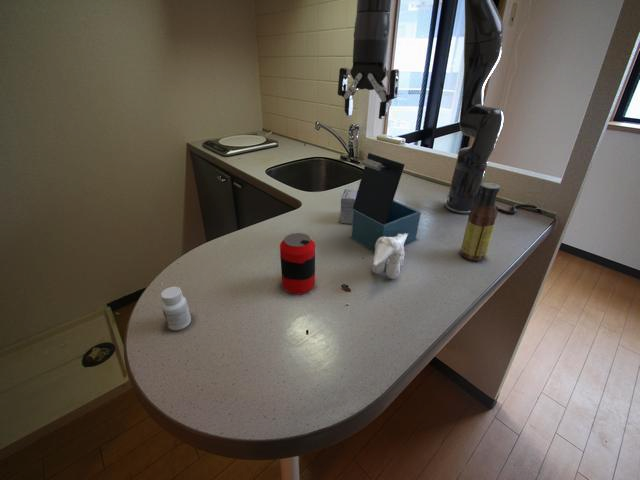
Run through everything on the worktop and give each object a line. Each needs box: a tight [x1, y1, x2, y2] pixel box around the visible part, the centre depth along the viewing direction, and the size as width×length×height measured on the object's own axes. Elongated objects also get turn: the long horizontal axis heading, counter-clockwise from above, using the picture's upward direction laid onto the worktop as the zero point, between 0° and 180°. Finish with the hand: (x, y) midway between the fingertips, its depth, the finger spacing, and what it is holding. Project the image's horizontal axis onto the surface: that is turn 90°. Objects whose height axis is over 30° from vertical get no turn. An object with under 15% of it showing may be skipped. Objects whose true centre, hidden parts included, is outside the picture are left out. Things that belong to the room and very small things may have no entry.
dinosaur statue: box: [371, 233, 408, 280], centre depth 77 cm, size 7×24×11 cm, turn 148°
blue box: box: [351, 199, 422, 253], centre depth 90 cm, size 15×12×9 cm
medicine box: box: [339, 188, 358, 225], centre depth 101 cm, size 8×4×9 cm, turn 168°
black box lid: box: [353, 152, 406, 225], centre depth 79 cm, size 15×12×5 cm
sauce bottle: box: [460, 182, 501, 262], centre depth 80 cm, size 7×6×20 cm
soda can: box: [279, 232, 316, 295], centre depth 70 cm, size 8×8×12 cm
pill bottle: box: [160, 286, 192, 331], centre depth 60 cm, size 4×4×8 cm
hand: (364, 116), depth 77 cm, fingers open, 8 cm apart
